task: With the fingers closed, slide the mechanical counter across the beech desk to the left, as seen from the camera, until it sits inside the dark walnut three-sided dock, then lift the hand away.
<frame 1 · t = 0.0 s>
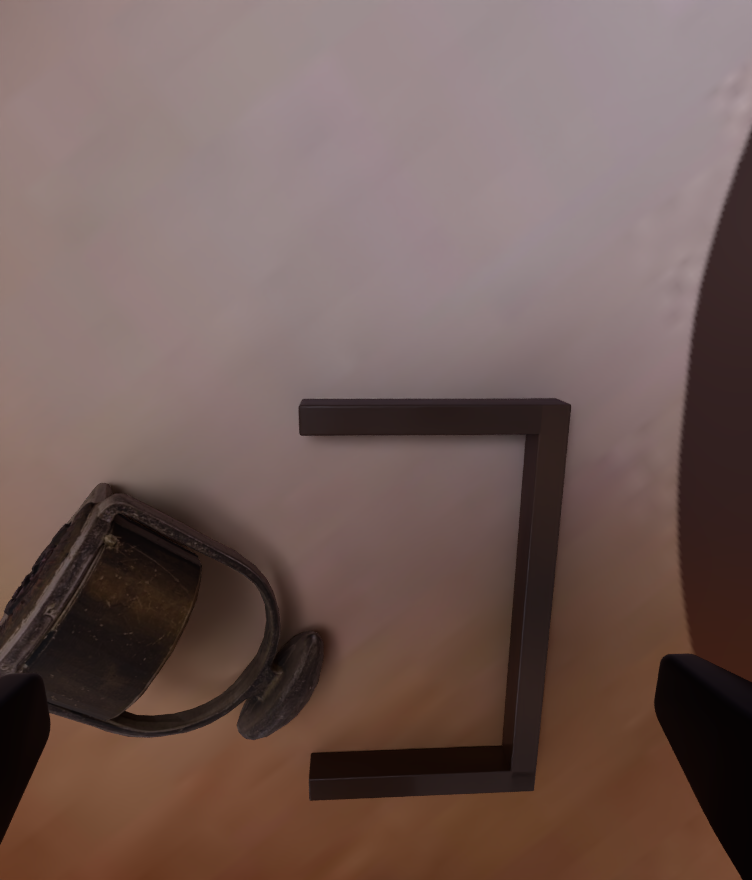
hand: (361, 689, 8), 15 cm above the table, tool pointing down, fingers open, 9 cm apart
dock: (424, 600, 24), on the table
mechanical counter: (182, 603, 23), on the table
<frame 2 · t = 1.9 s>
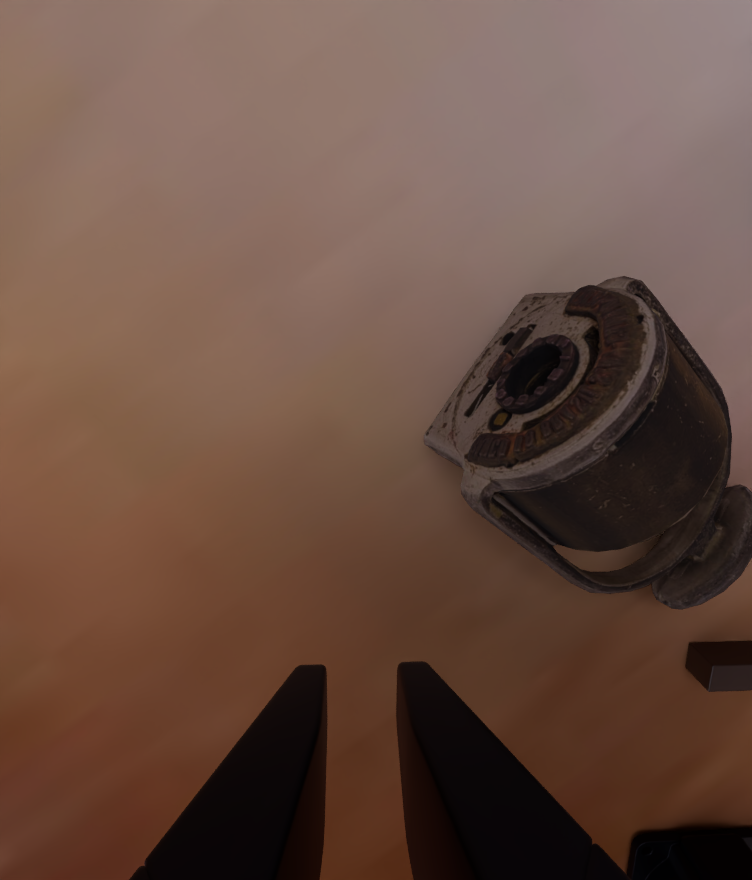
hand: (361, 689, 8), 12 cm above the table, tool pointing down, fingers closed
mechanical counter: (576, 456, 20), on the table
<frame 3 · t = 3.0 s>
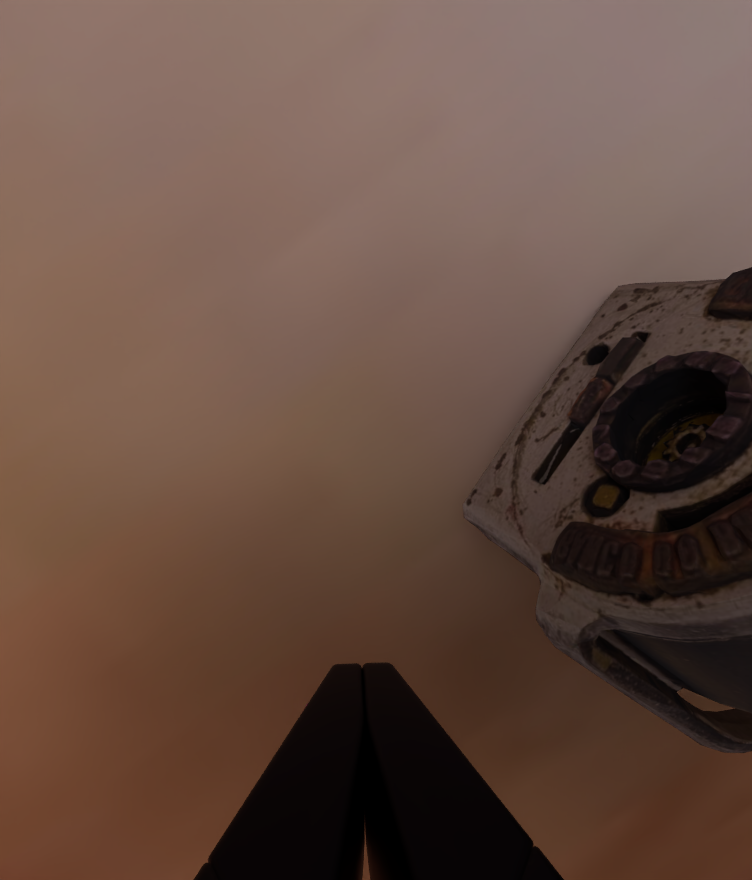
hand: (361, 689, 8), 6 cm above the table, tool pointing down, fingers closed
mechanical counter: (678, 522, 14), on the table
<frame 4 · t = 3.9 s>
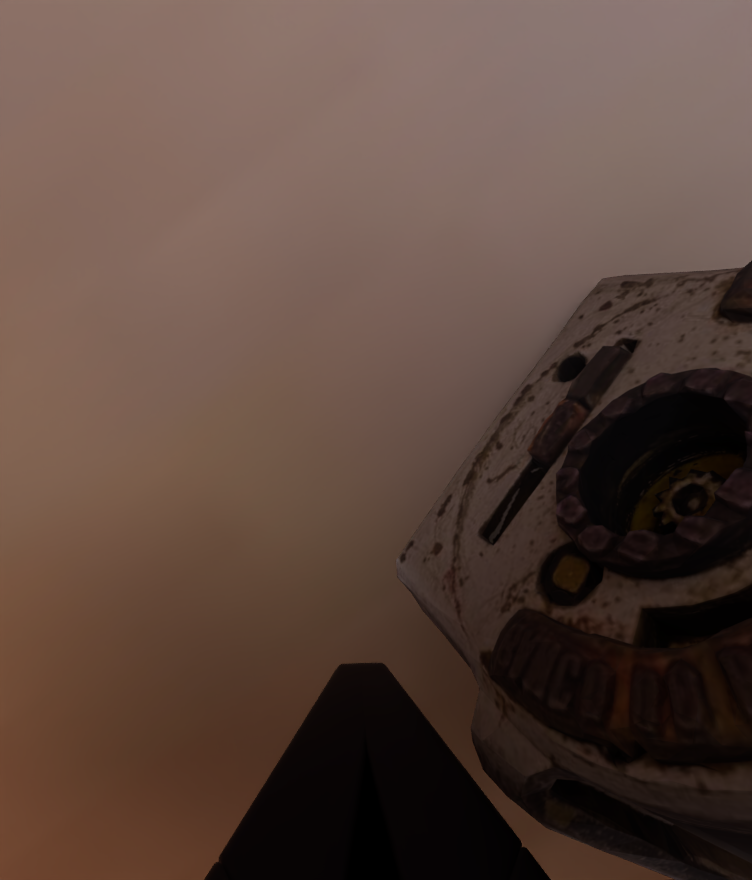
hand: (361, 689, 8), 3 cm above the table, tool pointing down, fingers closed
mechanical counter: (677, 573, 11), on the table, touching gripper
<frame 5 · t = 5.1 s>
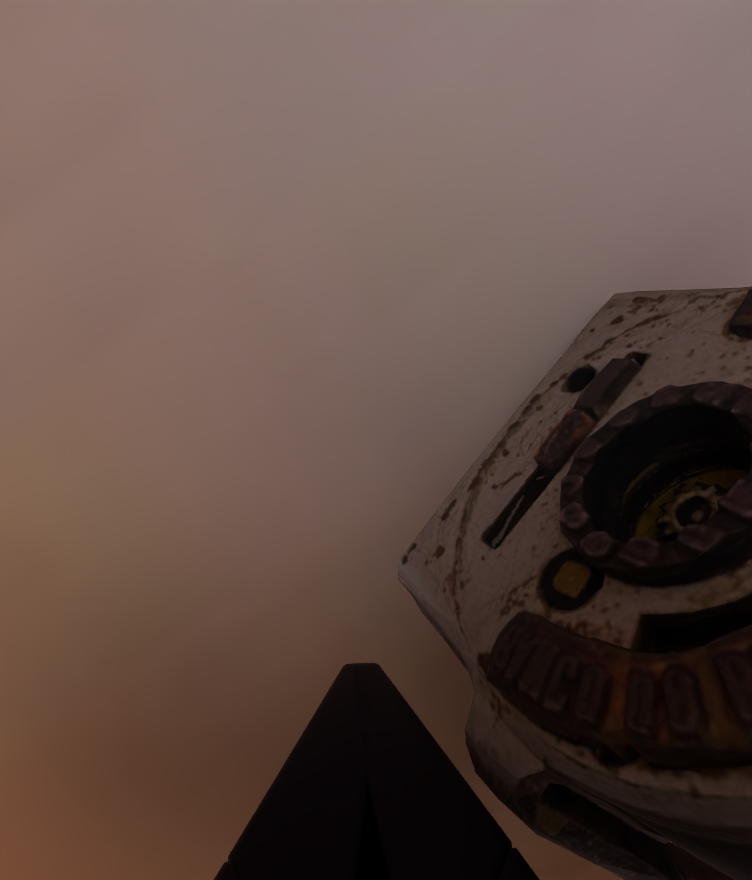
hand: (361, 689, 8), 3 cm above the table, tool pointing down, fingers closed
mechanical counter: (680, 593, 11), on the table, touching gripper
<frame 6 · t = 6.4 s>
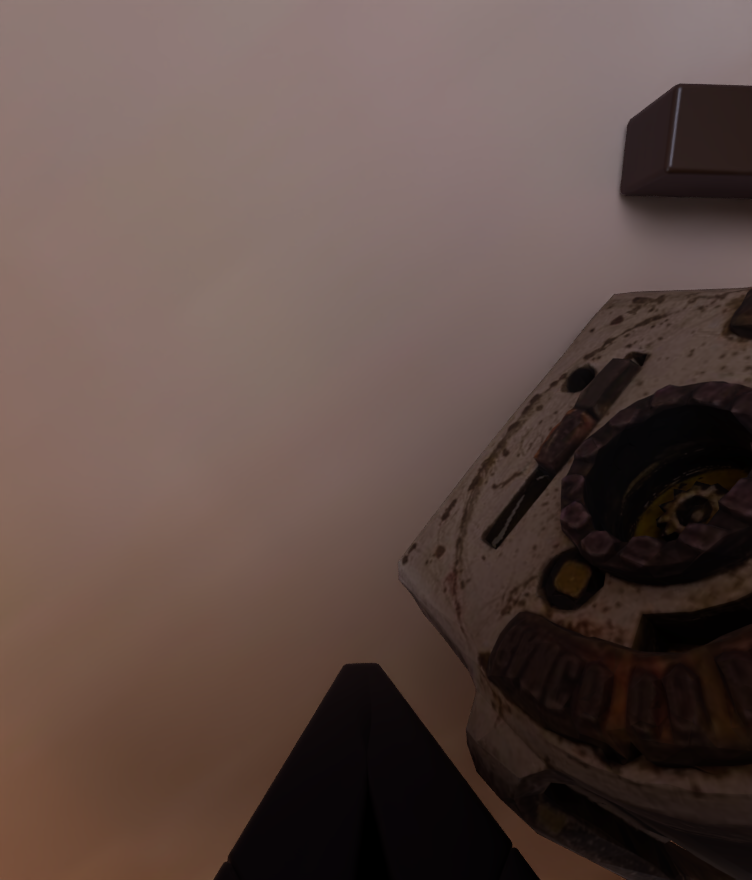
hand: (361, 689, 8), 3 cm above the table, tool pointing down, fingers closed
mechanical counter: (679, 593, 11), on the table, touching gripper
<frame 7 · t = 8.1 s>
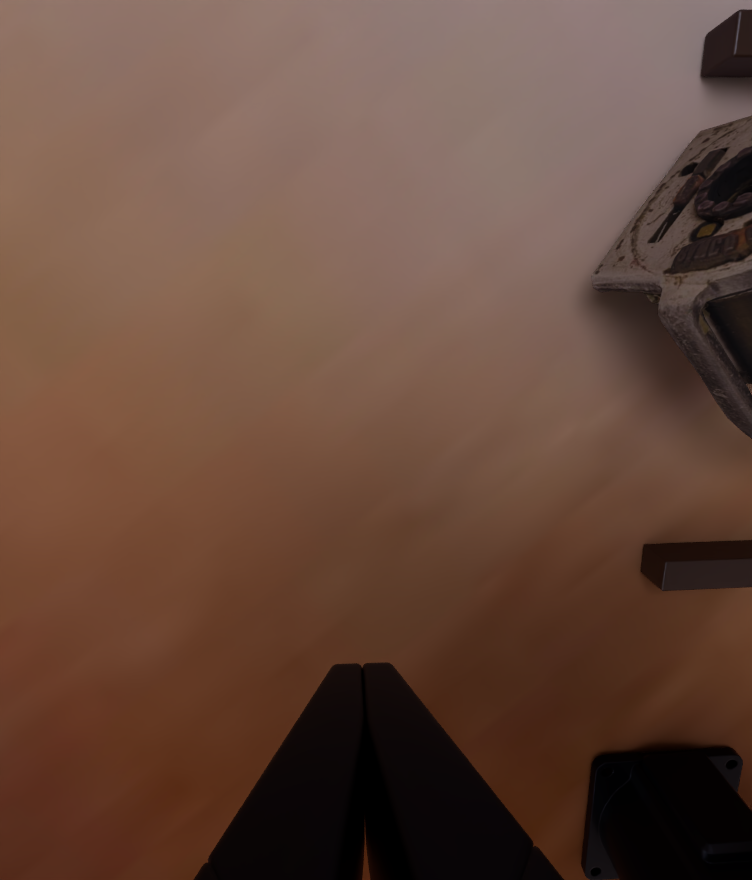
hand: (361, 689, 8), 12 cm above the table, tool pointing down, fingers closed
mechanical counter: (729, 322, 19), on the table
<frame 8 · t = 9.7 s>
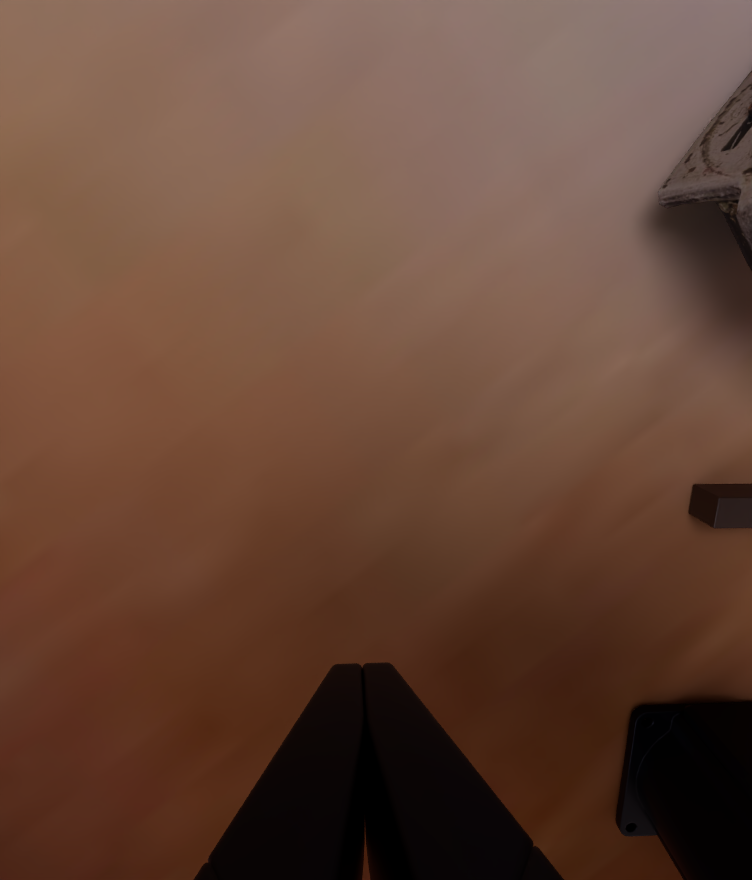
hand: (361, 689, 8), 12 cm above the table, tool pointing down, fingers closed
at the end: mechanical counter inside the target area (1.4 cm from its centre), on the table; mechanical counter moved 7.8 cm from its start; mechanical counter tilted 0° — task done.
